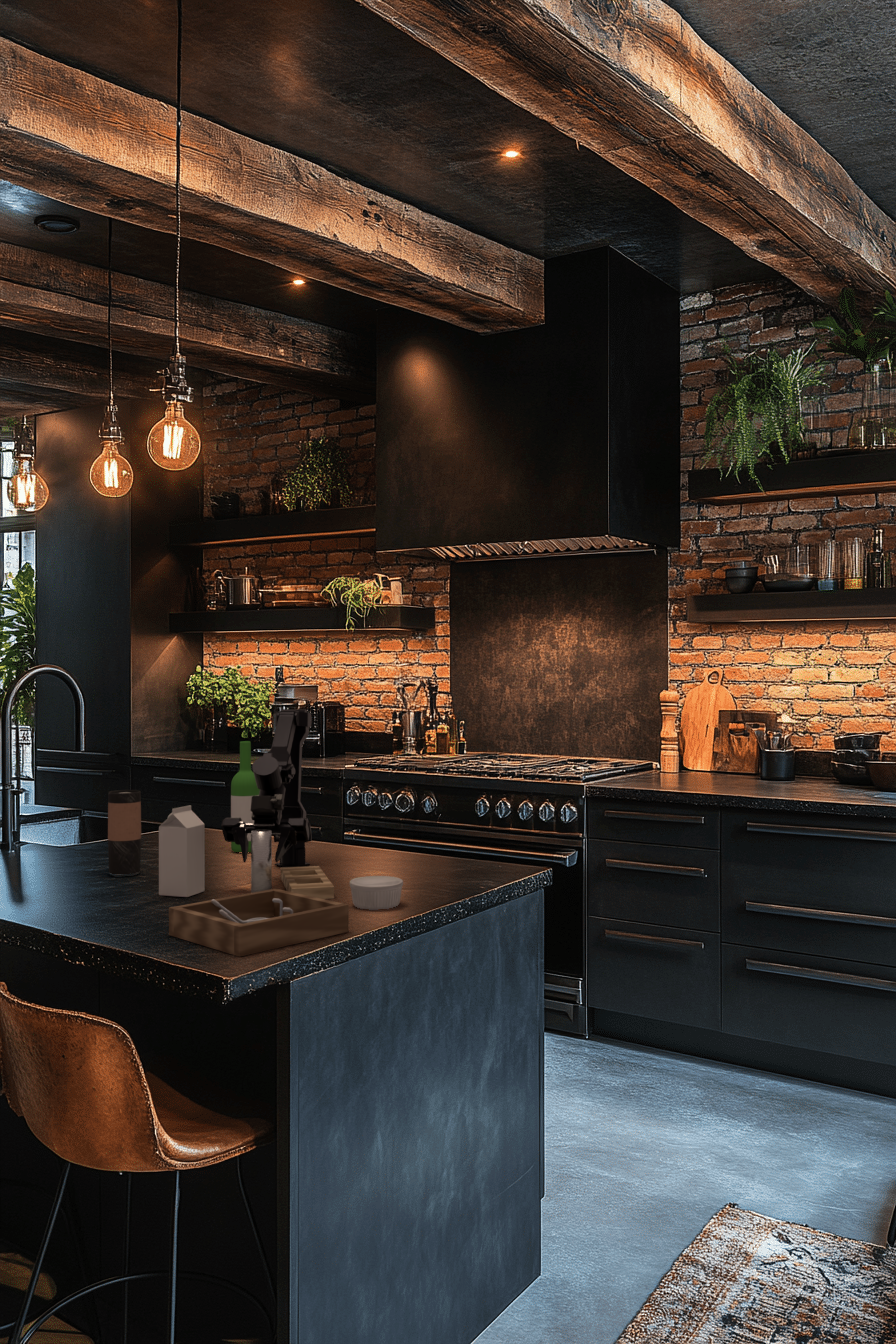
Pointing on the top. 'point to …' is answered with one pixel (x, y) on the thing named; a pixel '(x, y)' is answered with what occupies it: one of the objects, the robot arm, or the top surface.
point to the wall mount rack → (226, 912)
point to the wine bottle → (243, 791)
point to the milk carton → (181, 854)
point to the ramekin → (376, 892)
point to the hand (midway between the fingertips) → (260, 861)
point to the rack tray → (253, 937)
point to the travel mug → (124, 831)
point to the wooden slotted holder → (307, 881)
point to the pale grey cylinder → (261, 860)
